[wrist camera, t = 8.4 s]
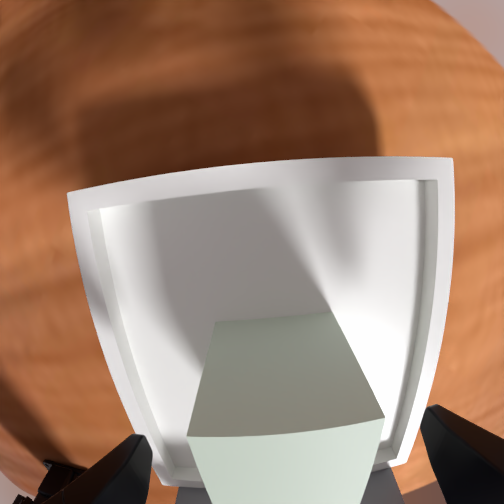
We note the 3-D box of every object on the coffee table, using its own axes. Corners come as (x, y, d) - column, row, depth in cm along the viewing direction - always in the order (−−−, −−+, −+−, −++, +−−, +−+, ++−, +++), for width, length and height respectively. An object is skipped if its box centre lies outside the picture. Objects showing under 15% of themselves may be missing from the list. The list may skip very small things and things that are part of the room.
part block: (329, 398, 13) (359, 505, 7) (230, 407, 13) (218, 518, 7) (332, 311, 12) (385, 417, 6) (215, 321, 12) (186, 436, 6)
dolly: (379, 422, 18) (416, 508, 10) (181, 440, 19) (159, 532, 11) (397, 160, 14) (506, 157, 6) (120, 185, 14) (13, 201, 7)
